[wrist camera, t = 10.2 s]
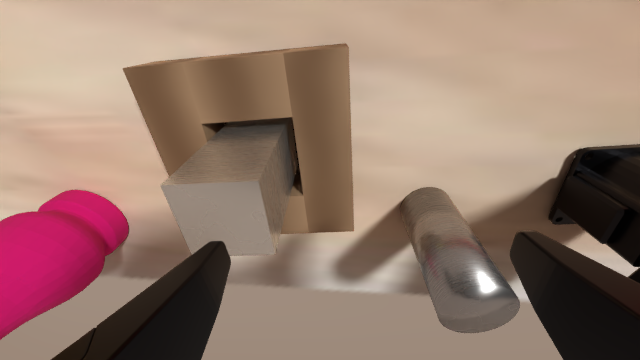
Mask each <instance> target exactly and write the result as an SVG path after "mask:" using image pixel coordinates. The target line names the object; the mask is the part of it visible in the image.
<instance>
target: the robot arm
mask: <svg viewBox="0 0 640 360" xmlns="http://www.w3.org/2000/svg"><path fill="white" fill-rule="evenodd" d="M587 154H588V155H587ZM586 155H587V156H586ZM548 219H549V220H550V221H551V222H552V223H553V224H578V225H579V226H580V227H581V228H582V229H584V230H585V231H586V232H587V233H589V234H590V235H591V236H592V237H594V238H595V239H596V240H597V241H598V242H600V243H602V244H606V245H608V246H609V247H610V248H611V249H613V250H614V251H615V252H616V253H618V254H619V255H620V256H621V257H623V258H624V259H625V260H626V261H628V262H629V263H630V264H631V265H633V266H634V267H640V144H637V145H620V146H603V147H587V148H583V149H581V150H580V151H579V152H578V153H577V155H576V157H575V159H574V161H573V164H572V166H571V168H570V170H569V173H568V175H567V177H566V179H565V181H564V184H563V186H562V188H561V190H560V193H559V195H558V197H557V199H556V202H555V204H554V206H553V208H552V211H551V213H550V215H549V218H548ZM510 258H511V261H512V263H513V265H514V267H515V270H516V272H517V274H518V276H519V278H520V280H521V283H522V285H523V287H524V289H525V291H526V294H527V296H528V298H529V300H530V302H531V304H532V306H533V308H534V310H535V312H536V314H537V315H538V317H539V319H540V321H541V322H542V324H543V326H544V328H545V329H546V331H547V333H548V334H549V336H550V338H551V339H552V341H553V343H554V345H555V346H556V348H557V350H558V351H559V353H560V355H561V356H562V358H563V360H640V268H638V269H637V270H636V271H635V272H633V273H632V274H631V275H630V276H629V277H626V276H624V275H622V274H620V273H618V272H616V271H614V270H612V269H610V268H608V267H606V266H604V265H602V264H600V263H598V262H596V261H594V260H592V259H590V258H588V257H586V256H584V255H582V254H580V253H578V252H576V251H574V250H572V249H570V248H568V247H566V246H564V245H562V244H560V243H558V242H556V241H554V240H553V239H551V238H549V237H547V236H545V235H543V234H541V233H539V232H537V231H532V230H531V231H519V232H517V233H516V235H515V238H514V241H513V244H512V247H511V249H510ZM230 265H231V260H230V256H229V253H228V251H227V248H226V246H225V243H224V242H223V241H210V242H208V243H207V244H206V245H204V246H203V247H202V248H200V249H199V250H198V251H196V252H195V253H194V254H192V255H191V256H190V257H188V258H187V259H186V260H184V261H183V262H182V263H180V264H179V265H178V266H176V267H175V268H174V269H172V270H171V271H169V272H168V273H167V274H165V275H164V276H163V277H161V278H160V279H159V280H157V281H156V282H155V283H153V284H152V285H151V286H150V287H148V288H147V289H145V290H144V291H143V292H141V293H140V294H139V295H137V296H136V297H135V298H134V299H132V300H131V301H129V302H128V303H127V304H125V305H124V306H123V307H122V308H120V309H119V310H117V311H116V312H115V313H113V314H112V315H111V316H109V317H108V318H107V319H105V320H104V321H103V322H101V323H100V324H99V325H97V327H96V328H93V329H92V330H91V331H89V332H88V333H86V334H85V335H84V336H82V337H81V338H80V339H79V340H77V341H76V342H74V343H73V344H72V345H70V346H69V347H68V348H66V349H65V350H63V351H62V352H61V353H60V354H58V355H57V356H55V357H54V358H52V359H51V360H201V358H202V355H203V353H204V350H205V347H206V344H207V341H208V339H209V336H210V333H211V331H212V328H213V325H214V323H215V320H216V317H217V314H218V311H219V308H220V304H221V301H222V296H223V293H224V288H225V285H226V281H227V277H228V273H229V269H230Z"/></svg>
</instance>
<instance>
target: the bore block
mask: <svg viewBox="0 0 640 360" xmlns="http://www.w3.org/2000/svg"><path fill="white" fill-rule="evenodd" d="M123 71H124V73H125V75H126V78H127V80H128V82H129V84H130V87H131V89H132V91H133V94H134V96H135V98H136V101H137V103H138V105H139V107H140V110H141V112H142V114H143V117H144V119H145V121H146V124H147V126H148V128H149V130H150V133H151V135H152V137H153V140H154V142H155V144H156V147H157V149H158V151H159V153H160V156H161V158H162V160H163V163H164V165H165V167H166V170H167V172H168V174H169V176H171V175H172V174H173V173H174V172H175V171H176V170H178V169H179V168H180V167H181V166H182V165H183V164H184V163H185V162H186V161H187V160H188V159H189V158H190V157H192V156H193V155H194V154H195V153H196V152H197V151H198V150H199V149H200V148H201V147H202V146H203V145H205V144H206V143H207V142H208V141H209V140H210V139H211V138H212V137H213V136H214V135H215V134H216V133H217V132H219V131H220V130H221V129H222V128H223V127H224V126H225V125H224V122H233V121H247V120H260V119H274V118H287V117H292V118H293V125H294V132H295V139H296V146H297V153H298V160H299V167H300V174H299V175H295V178H294V182H293V186H292V190H291V194H290V198H289V202H288V206H287V210H286V214H285V218H284V222H283V226H282V230H281V234H292V233H318V232H345V231H354V217H353V183H352V148H351V113H350V79H349V47H348V46H347V44H335V45H325V46H314V47H304V48H294V49H283V50H273V51H262V52H252V53H241V54H231V55H220V56H210V57H199V58H189V59H179V60H168V61H158V62H152V63H147V64H142V65H137V66H132V67H127V68H123Z"/></svg>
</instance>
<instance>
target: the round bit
mask: <svg viewBox="0 0 640 360" xmlns="http://www.w3.org/2000/svg"><path fill="white" fill-rule="evenodd" d="M400 213H401V216H402V219H403V222H404V225H405V227H406V230H407V233H408V236H409V238H410V241H411V244H412V247H413V249H414V252H415V255H416V258H417V260H418V263H419V266H420V269H421V272H422V274H423V277H424V280H425V283H426V285H427V288H428V291H429V294H430V296H431V299H432V302H433V305H434V307H435V310H436V313H437V316H438V318H439V321H440V322H441V324H442V325H443V326H445V327H446V328H448V329H450V330H453V331H456V332H461V333H479V332H485V331H489V330H492V329H495V328H498V327H500V326H502V325H504V324H506V323H507V322H509V321H510V320H511V319H512V318H513V317H514V316H515V315H516V314H517V312H518V311H519V308H520V301H519V299H518V297H517V296H516V294H515V293H514V291H513V290H512V288H511V287H510V285H509V284H508V282H507V281H506V279H505V278H504V277H503V275H502V274H501V272H500V271H499V269H498V268H497V266H496V265H495V263H494V262H493V260H492V259H491V257H490V256H489V255H488V253H487V252H486V250H485V249H484V247H483V246H482V244H481V243H480V241H479V240H478V238H477V237H476V235H475V234H474V233H473V231H472V230H471V228H470V227H469V225H468V224H467V222H466V221H465V219H464V218H463V216H462V215H461V213H460V212H459V211H458V209H457V208H456V206H455V205H454V203H453V202H452V200H451V199H450V197H449V196H448V194H447V193H446V192H444V191H443V190H441V189H438V188H433V187H426V188H421V189H418V190H416V191H414V192H412V193H410V194H409V195H408V196H407V197H406V198H405V199H404V200H403V202H402V204H401V208H400Z"/></svg>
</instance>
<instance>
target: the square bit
mask: <svg viewBox="0 0 640 360" xmlns="http://www.w3.org/2000/svg"><path fill="white" fill-rule="evenodd" d="M297 166H298V165H297V157H296V150H295V143H294V135H293V128H292V121H291V117H287V118H274V119H260V120H247V121H233V122H228V123H227V124H226V125H225V126H224V127H223V128H222V129H221V130H220V131H219V132H217V133H216V134H215V135H214V136H213V137H212V138H211V139H210V140H209V141H208V142H207V143H206V144H205V145H203V146H202V147H201V148H200V149H199V150H198V151H197V152H196V153H195V154H194V155H193V156H192V157H190V158H189V159H188V160H187V161H186V162H185V163H184V164H183V165H182V166H181V167H180V168H179V169H178V170H176V171H175V172H174V173H173V174H172V175H171V176H170V177H169V178H168V179H167V180H166V181H165V182H163V183H162V184H161V185H160V186H161V188H162V190H163V192H164V195H165V197H166V199H167V201H168V204H169V206H170V208H171V210H172V212H173V215H174V217H175V219H176V221H177V223H178V226H179V228H180V230H181V232H182V234H183V237H184V239H185V241H186V243H187V245H188V248H189V250H190V252H191V254H194V253H195V252H196V251H198V250H199V249H200V248H202V247H203V246H204V245H206V244H207V243H208V242H210V241H223V242H224V243H225V246H226V248H227V251H228V253H229V256H245V255H275V253H276V249H277V245H278V241H279V237H280V234H281V230H282V226H283V222H284V218H285V214H286V210H287V206H288V202H289V198H290V194H291V190H292V186H293V182H294V178H295V174H296V170H297Z"/></svg>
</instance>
